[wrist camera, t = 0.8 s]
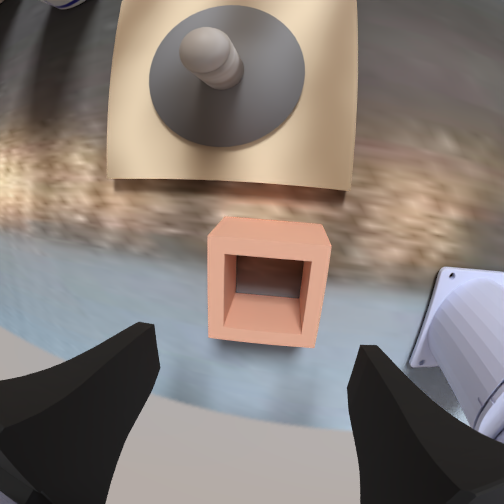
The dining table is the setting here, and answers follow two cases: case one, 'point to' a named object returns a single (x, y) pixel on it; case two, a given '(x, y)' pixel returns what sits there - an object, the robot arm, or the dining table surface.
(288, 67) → the post block
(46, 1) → the energy drink
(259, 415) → the dining table surface
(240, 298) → the salmon square tube
